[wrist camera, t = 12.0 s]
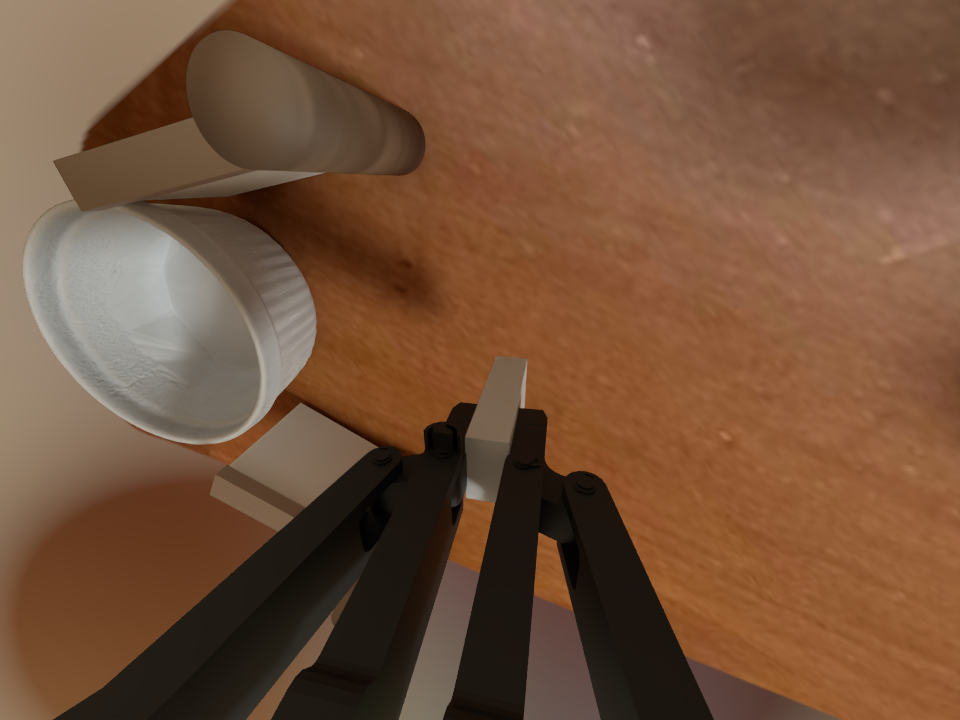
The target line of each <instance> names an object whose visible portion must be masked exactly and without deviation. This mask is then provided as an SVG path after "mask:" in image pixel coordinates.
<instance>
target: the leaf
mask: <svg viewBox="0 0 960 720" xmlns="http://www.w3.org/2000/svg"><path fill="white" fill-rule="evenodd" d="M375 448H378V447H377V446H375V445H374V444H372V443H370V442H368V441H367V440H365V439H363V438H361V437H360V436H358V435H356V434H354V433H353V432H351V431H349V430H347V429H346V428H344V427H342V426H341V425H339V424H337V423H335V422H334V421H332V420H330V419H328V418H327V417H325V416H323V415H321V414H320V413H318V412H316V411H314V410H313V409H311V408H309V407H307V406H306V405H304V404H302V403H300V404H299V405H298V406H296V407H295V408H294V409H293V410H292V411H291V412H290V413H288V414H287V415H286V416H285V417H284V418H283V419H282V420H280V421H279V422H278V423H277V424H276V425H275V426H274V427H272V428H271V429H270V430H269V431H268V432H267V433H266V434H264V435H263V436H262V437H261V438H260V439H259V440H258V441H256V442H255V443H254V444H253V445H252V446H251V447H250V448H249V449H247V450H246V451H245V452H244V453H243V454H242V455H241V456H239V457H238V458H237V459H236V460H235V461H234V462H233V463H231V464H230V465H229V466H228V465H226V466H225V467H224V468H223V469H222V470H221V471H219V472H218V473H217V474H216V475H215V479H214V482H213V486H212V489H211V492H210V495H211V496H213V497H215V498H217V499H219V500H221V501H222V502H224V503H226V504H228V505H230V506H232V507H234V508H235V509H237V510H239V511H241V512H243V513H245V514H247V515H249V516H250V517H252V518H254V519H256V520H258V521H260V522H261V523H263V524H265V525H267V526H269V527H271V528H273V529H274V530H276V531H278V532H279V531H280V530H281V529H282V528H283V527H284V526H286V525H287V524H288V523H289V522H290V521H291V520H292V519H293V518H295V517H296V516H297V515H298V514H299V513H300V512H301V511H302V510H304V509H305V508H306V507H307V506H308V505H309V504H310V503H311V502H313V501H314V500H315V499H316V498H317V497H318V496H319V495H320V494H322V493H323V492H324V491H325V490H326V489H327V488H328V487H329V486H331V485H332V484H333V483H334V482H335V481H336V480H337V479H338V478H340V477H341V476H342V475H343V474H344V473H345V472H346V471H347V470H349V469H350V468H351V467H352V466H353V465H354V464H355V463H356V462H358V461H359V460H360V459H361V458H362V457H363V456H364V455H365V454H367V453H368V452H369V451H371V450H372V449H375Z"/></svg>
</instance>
